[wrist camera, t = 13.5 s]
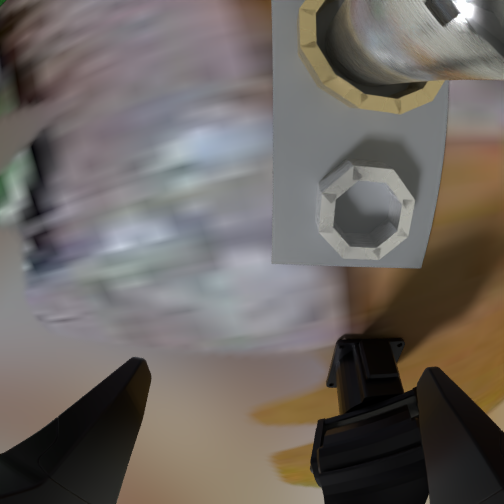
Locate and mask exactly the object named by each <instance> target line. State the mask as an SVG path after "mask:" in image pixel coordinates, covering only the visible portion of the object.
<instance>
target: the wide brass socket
mask: <svg viewBox="0 0 504 504" xmlns="http://www.w3.org/2000/svg"><path fill="white" fill-rule="evenodd" d="M334 1H337V0H305V1H304V3H303V4H302V5H301V7H300V8H299V12H298V18H297V42H298V56H299V58H300V59H301V61H302V62H303V64H304V65H305V67H306V69H307V70H308V72H309V74H310V75H311V77H312V79H313V80H314V82H315V84H316V85H317V87H319V88H320V89H322V90H323V91H325V92H327V93H328V94H330V95H331V96H333V97H334V98H336V99H338V100H339V101H341V102H342V103H344V104H345V105H347V106H348V107H349V108H357V109H365V110H373V111H380V112H387V113H394V114H403V113H405V112H407V111H410V110H412V109H414V108H417V107H419V106H421V105H424V104H426V103H429V102H431V101H433V99H434V98H435V96H436V94H437V93H438V91H439V90H440V88H441V86H442V85H443V83H444V81H445V80H438V81H422V82H410V84H409V85H408V87H407V88H406V89H405V90H402V91H400V92H397V93H395V94H393V95H390V96H388V97H382V96H375V95H368V94H364V93H363V92H361V91H360V90H358V89H357V88H355V87H354V86H352V85H351V84H350V83H348V82H347V81H345V80H343V79H342V78H340V77H339V76H337V75H336V74H335V73H334V72H333V70H332V68H331V66H330V65H329V63H328V62H327V60H326V58H325V57H324V55H323V53H322V52H321V50H320V49H319V47H318V46H317V41H316V18H317V16H318V15H319V13H320V12H321V10H322V9H323V8H324V6H325V5H326V4H328V3H331V2H334Z"/></svg>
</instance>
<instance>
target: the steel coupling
mask: <svg viewBox="0 0 504 504" xmlns="http://www.w3.org/2000/svg"><path fill="white" fill-rule="evenodd" d="M325 45H326V50H327V53H328V56H329V58H330V60H331V62H332V63H333V65H334V66H335V67H336V68H337V69H338V71H339V72H341V73H342V74H343V75H344V76H345V77H347V78H348V79H350V80H352V81H354V82H356V83H359V84H362V85H367V86H382V85H390V84H399V83H409V82H422V81H438V80H504V0H345V1H344V2H343V4H342V5H341V7H340V9H339V10H338V12H337V13H336V15H335V17H334V18H333V20H332V21H331V23H330V25H329V26H328V29H327V31H326V36H325Z"/></svg>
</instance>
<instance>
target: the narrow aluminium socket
mask: <svg viewBox="0 0 504 504" xmlns="http://www.w3.org/2000/svg"><path fill="white" fill-rule="evenodd" d="M357 181H370V182H381V183H384V185H385V186H386V187H387V189H388V190H389V191H390V193H391V200H390V207H389V213H388V218H387V219H386V220H385V221H384V222H382V223H381V224H380V225H379V226H378V227H376V228H375V229H374V230H373V231H371V232H370V233H369V234H362V233H344V232H343V230H342V229H341V228H340V227H339V226H338V225H337V224H336V223H335V222H334V213H335V202H336V199H337V198H338V197H340V196H341V195H342V194H343V193H344V192H345V191H347V190H348V189H349V188H350V187H351V186H353V185H354V184H355V183H356V182H357ZM414 204H415V199H414V198H413V196H412V195H411V193H410V192H409V191H408V189H407V188H406V186H405V185H404V183H403V182H402V181H401V179H400V178H399V176H398V175H397V174H396V172H395V171H394V170H393V169H392V168H391V167H389V166H388V165H386V164H385V163H383V162H377V161H367V160H356V159H345V160H344V161H343V162H342V163H341V164H340V165H339V166H337V167H336V168H335V169H334V170H333V171H332V172H330V173H329V174H328V175H327V176H326V177H325V178H324V179H322V180H321V181H320V182H319V183H318V189H317V205H316V223H317V228H318V232H319V233H320V234H321V235H322V236H323V238H324V239H325V240H326V241H327V242H328V243H329V244H330V245H331V246H332V247H333V248H334V249H335V250H336V251H337V253H338V254H339V255H340V256H341V257H342V258H343V259H368V260H380V259H381V258H382V257H383V256H385V255H386V254H387V253H389V252H390V251H391V250H392V249H394V248H395V247H396V246H397V245H399V244H400V243H401V242H402V241H404V240H405V239H406V238H407V237H408V235H409V230H410V225H411V220H412V215H413V209H414Z"/></svg>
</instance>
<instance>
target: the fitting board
mask: <svg viewBox="0 0 504 504" xmlns="http://www.w3.org/2000/svg"><path fill="white" fill-rule="evenodd" d="M304 1H305V0H272V45H273V214H272V264H290V265H320V266H351V267H387V268H421V266H422V263H423V259H424V255H425V251H426V248H427V244H428V239H429V235H430V231H431V226H432V222H433V217H434V212H435V207H436V202H437V197H438V191H439V185H440V179H441V172H442V165H443V157H444V148H445V139H446V127H447V112H448V80H445V81H444V83H443V85H442V86H441V88H440V90H439V91H438V93H437V94H436V96H435V98H434V99H433V101H431V102H429V103H426V104H424V105H421V106H419V107H417V108H414V109H412V110H410V111H407V112H405V113H403V114H394V113H387V112H380V111H373V110H365V109H357V108H349V107H348V106H347V105H345V104H344V103H342V102H341V101H339V100H338V99H336V98H334V97H333V96H331V95H330V94H328V93H327V92H325V91H323V90H322V89H320V88H319V87H317V85H316V84H315V82H314V80H313V79H312V77H311V75H310V74H309V72H308V70H307V69H306V67H305V65H304V64H303V62H302V61H301V59H300V58H299V56H298V42H297V18H298V12H299V8H300V7H301V5H302V4H303V3H304ZM344 1H345V0H337V1H334V2H331V3H328V4H326V5H325V6H324V8H323V9H322V10H321V12H320V13H319V15H318V16H317V18H316V41H317V46H318V47H319V49H320V50H321V52H322V53H323V55H324V57H325V58H326V60H327V62H328V63H329V65H330V66H331V68H332V70H333V72H334V73H335V74H336V75H337V76H339V77H340V78H342V79H343V80H345V81H347V82H348V83H350V84H351V85H352V86H354V87H355V88H357V89H358V90H360V91H361V92H363V93H364V94H368V95H375V96H382V97H388V96H390V95H393V94H395V93H397V92H400V91H402V90H405V89H406V88H407V87H408V85H409V84H410V82H409V83H399V84H390V85H382V86H367V85H362V84H359V83H356V82H354V81H352V80H350V79H348V78H347V77H345V76H344V75H343V74H342V73H341V72H339V71H338V69H337V68H336V67H335V66H334V65H333V63H332V62H331V60H330V58H329V56H328V53H327V50H326V45H325V36H326V31H327V29H328V26H329V25H330V23H331V21H332V20H333V18H334V17H335V15H336V13H337V12H338V10H339V9H340V7H341V5H342V4H343V2H344ZM345 159H356V160H367V161H377V162H383V163H385V164H386V165H388V166H389V167H391V168H392V169H393V170H394V171H395V172H396V174H397V175H398V176H399V178H400V179H401V181H402V182H403V183H404V185H405V186H406V188H407V189H408V191H409V192H410V193H411V195H412V196H413V198H414V199H415V204H414V209H413V215H412V220H411V225H410V230H409V235H408V237H407V238H406V239H405V240H404V241H402V242H401V243H400V244H399V245H397V246H396V247H395V248H394V249H392V250H391V251H390V252H389V253H387V254H386V255H385V256H383V257H382V258H381V259H380V260H368V259H343V258H342V257H341V256H340V255H339V254H338V253H337V251H336V250H335V249H334V248H333V247H332V246H331V245H330V244H329V243H328V242H327V241H326V240H325V239H324V238H323V236H322V235H321V234H320V233H319V232H318V228H317V223H316V205H317V189H318V183H319V182H320V181H321V180H322V179H324V178H325V177H326V176H327V175H328V174H329V173H330V172H332V171H333V170H334V169H335V168H336V167H337V166H339V165H340V164H341V163H342V162H343V161H344V160H345ZM390 200H391V193H390V191H389V190H388V189H387V187H386V186H385V185H384V183H381V182H370V181H357V182H356V183H355V184H354V185H353V186H351V187H350V188H349V189H348V190H347V191H345V192H344V193H343V194H342V195H341V196H340V197H338V198H337V199H336V202H335V213H334V222H335V223H336V224H337V225H338V226H339V227H340V228H341V229H342V230H343V232H344V233H362V234H369V233H370V232H371V231H373V230H374V229H375V228H376V227H378V226H379V225H380V224H381V223H382V222H384V221H385V220H386V219H387V218H388V213H389V207H390Z"/></svg>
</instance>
